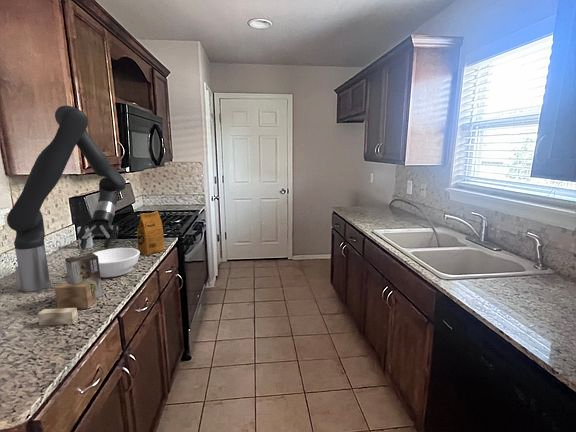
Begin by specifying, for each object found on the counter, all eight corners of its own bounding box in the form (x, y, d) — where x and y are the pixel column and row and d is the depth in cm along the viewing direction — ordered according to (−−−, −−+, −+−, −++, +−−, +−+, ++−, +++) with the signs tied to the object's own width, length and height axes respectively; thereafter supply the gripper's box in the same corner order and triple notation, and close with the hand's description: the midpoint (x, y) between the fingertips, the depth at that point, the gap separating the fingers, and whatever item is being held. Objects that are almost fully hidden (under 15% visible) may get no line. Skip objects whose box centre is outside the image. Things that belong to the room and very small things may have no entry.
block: (57, 309, 112) (54, 287, 111) (66, 302, 117) (63, 281, 116) (88, 308, 113) (85, 286, 112) (95, 301, 118) (93, 280, 117)
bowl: (76, 274, 146) (74, 256, 144) (126, 261, 163) (125, 245, 162) (99, 286, 132) (97, 267, 131) (151, 270, 150) (149, 253, 148)
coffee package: (135, 252, 177) (132, 212, 172) (157, 247, 186) (154, 209, 182) (145, 256, 170) (141, 215, 166) (166, 250, 180) (163, 211, 176)
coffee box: (96, 291, 127) (92, 252, 124) (103, 296, 123) (98, 255, 120) (70, 299, 121) (64, 258, 117) (76, 304, 116) (70, 261, 113)
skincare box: (93, 245, 189) (91, 225, 187) (91, 247, 185) (89, 227, 183) (81, 246, 187) (78, 226, 185) (79, 248, 183) (76, 228, 181)
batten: (39, 325, 103) (37, 313, 102) (45, 320, 105) (43, 309, 105) (73, 323, 104) (71, 312, 103) (78, 319, 106) (76, 307, 106)
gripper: (82, 209, 133) (70, 244, 124) (118, 208, 135) (109, 243, 126) (89, 219, 139) (79, 253, 130) (124, 218, 141) (116, 252, 132)
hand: (94, 248), depth 128 cm, fingers open, 8 cm apart
